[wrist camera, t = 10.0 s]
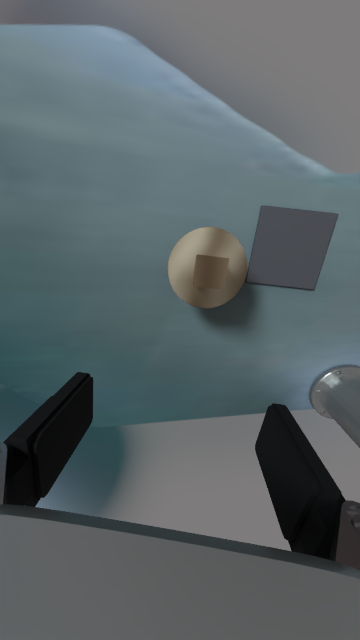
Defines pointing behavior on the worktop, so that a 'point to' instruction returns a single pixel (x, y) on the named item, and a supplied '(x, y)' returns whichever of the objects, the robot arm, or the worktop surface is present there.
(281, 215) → the mat
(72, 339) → the worktop surface
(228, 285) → the lid
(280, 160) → the worktop surface
